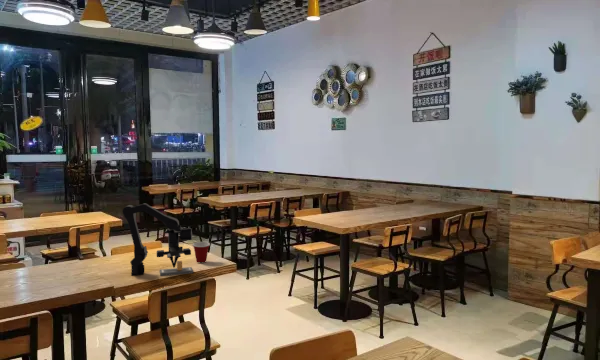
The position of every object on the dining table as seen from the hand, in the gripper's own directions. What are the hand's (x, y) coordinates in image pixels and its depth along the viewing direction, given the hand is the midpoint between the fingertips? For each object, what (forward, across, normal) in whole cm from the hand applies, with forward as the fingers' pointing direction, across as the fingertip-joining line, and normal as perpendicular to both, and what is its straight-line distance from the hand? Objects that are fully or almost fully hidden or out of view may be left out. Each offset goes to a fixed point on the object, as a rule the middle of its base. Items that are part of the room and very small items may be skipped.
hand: (174, 267), depth 254 cm
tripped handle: (+1, +3, 0) cm, 3 cm away
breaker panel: (+3, +1, 0) cm, 3 cm away
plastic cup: (+3, +18, +20) cm, 27 cm away
